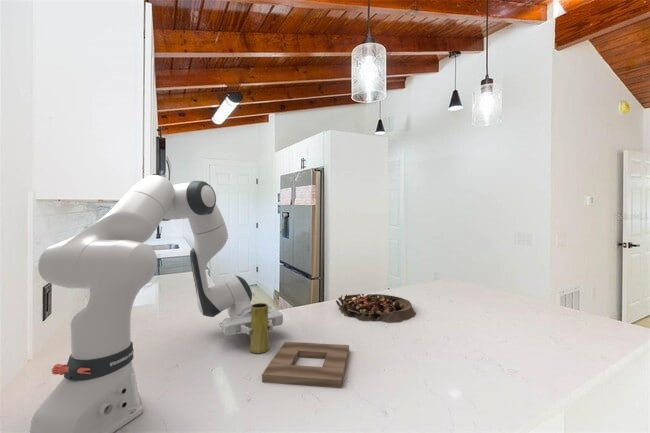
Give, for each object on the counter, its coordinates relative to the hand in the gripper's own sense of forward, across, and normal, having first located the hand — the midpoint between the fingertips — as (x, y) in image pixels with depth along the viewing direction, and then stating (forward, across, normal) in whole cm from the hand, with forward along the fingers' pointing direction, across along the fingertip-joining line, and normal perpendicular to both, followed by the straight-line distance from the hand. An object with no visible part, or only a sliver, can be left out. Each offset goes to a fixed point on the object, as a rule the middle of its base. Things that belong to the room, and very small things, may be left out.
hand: (260, 329), depth 103 cm
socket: (+17, +9, +7) cm, 20 cm away
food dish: (-12, +57, +7) cm, 58 cm away
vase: (-1, 0, +7) cm, 7 cm away
